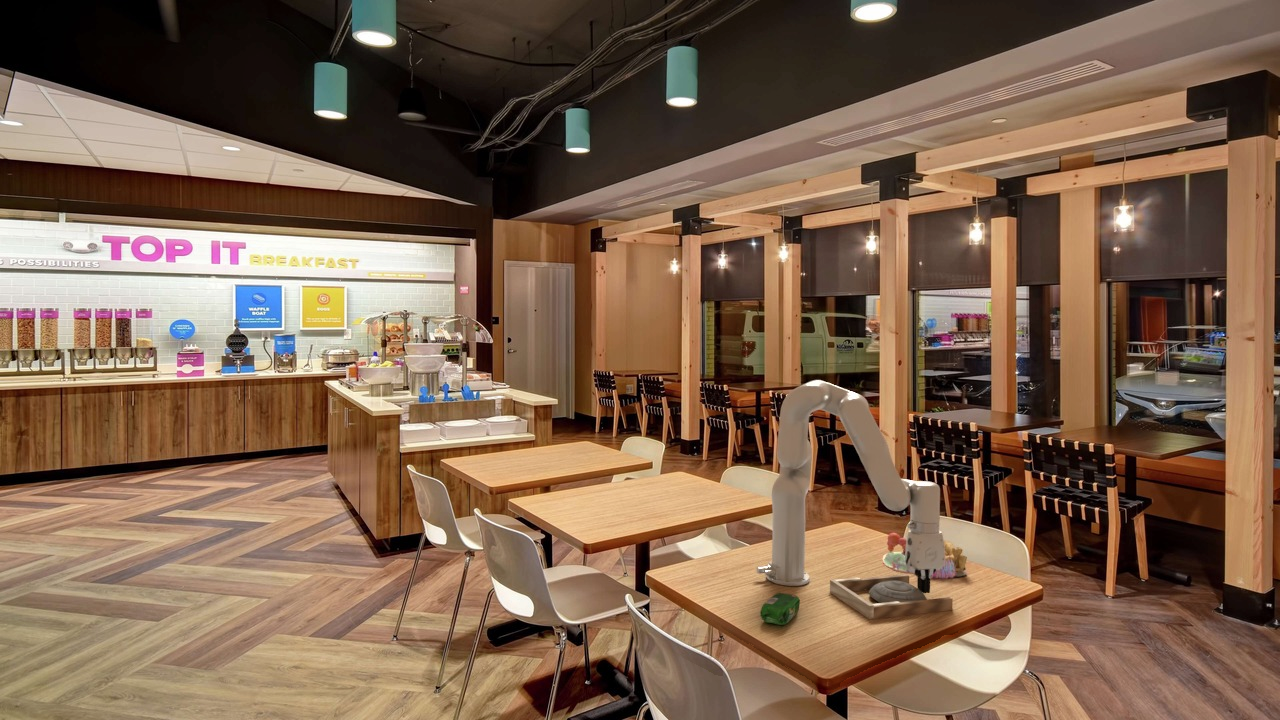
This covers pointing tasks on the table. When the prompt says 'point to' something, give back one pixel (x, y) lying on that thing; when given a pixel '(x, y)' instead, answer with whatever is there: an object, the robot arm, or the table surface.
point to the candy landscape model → (950, 569)
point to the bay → (888, 609)
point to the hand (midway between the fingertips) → (923, 591)
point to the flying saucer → (895, 592)
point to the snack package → (780, 608)
